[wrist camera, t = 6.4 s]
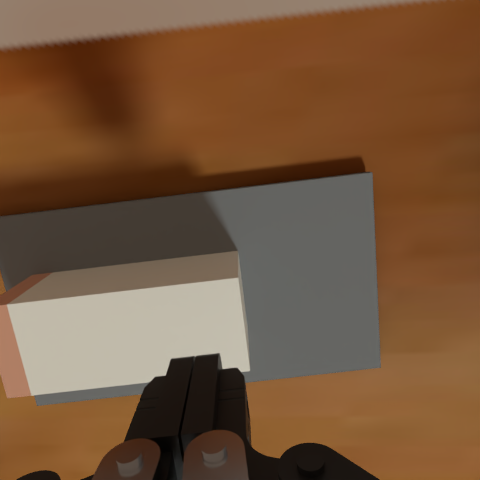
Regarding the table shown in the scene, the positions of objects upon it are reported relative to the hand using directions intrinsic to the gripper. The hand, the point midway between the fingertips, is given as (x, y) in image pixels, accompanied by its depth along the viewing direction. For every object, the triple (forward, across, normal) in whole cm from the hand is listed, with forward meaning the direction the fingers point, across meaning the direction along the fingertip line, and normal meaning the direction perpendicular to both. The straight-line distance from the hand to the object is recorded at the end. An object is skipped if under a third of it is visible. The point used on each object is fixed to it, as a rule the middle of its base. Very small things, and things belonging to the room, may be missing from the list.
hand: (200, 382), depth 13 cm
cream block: (+6, -2, 0) cm, 6 cm away
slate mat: (+8, +1, 0) cm, 8 cm away
